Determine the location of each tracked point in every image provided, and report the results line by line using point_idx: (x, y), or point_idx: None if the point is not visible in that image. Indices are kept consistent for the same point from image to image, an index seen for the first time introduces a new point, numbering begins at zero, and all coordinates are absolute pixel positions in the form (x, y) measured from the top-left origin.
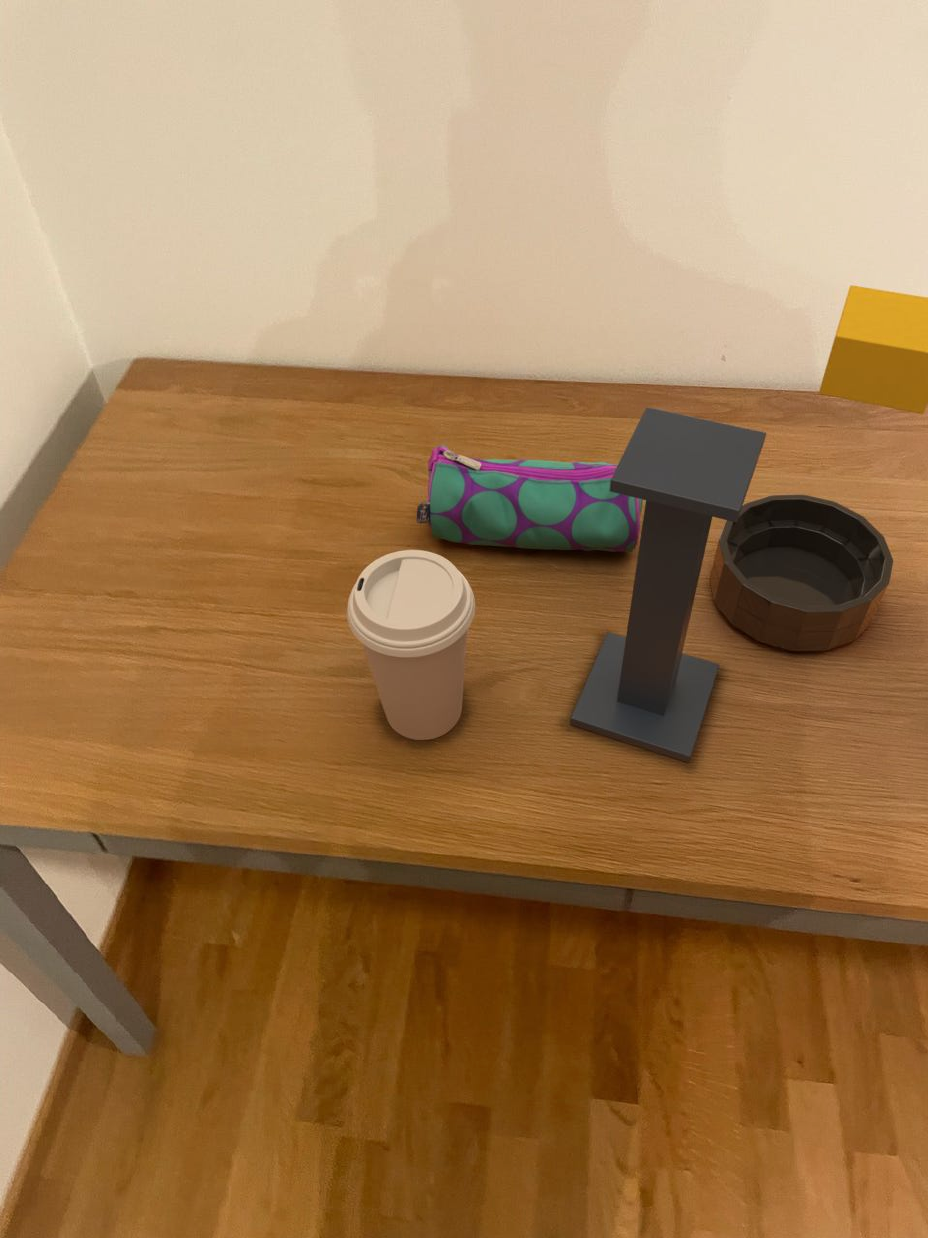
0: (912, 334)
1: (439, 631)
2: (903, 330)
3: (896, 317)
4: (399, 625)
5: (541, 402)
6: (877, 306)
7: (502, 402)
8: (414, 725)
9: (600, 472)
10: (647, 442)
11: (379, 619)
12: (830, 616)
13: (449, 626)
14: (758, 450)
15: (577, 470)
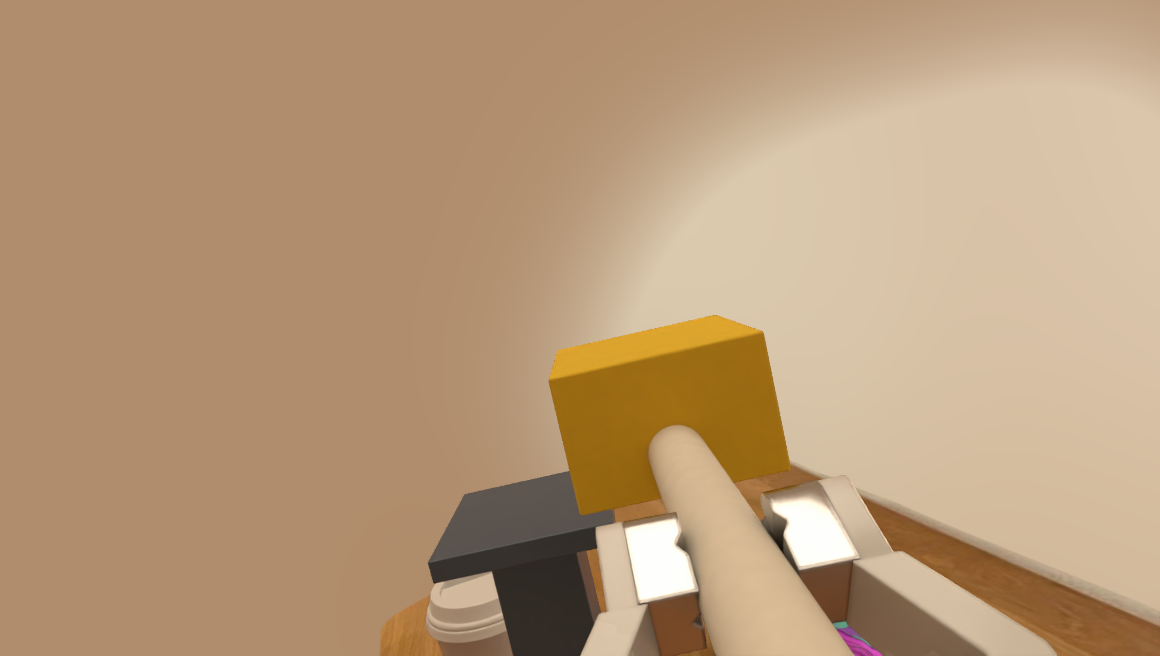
0: (599, 356)
1: (444, 620)
2: (607, 352)
3: (645, 341)
4: (434, 594)
5: (1029, 603)
6: (669, 331)
7: (980, 582)
8: None
9: (849, 645)
10: (539, 484)
11: (439, 584)
12: None
13: (453, 622)
14: (564, 530)
15: (838, 632)
